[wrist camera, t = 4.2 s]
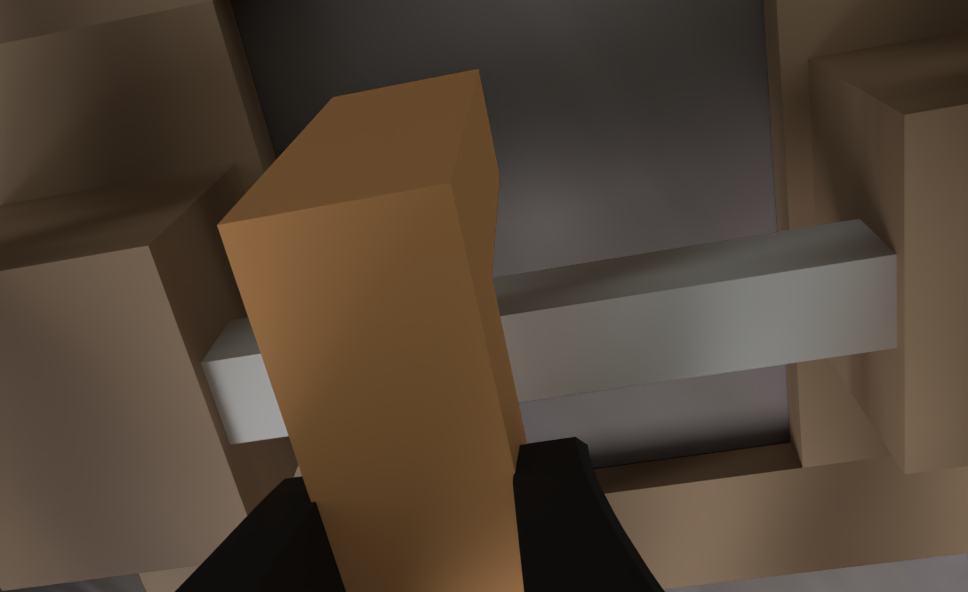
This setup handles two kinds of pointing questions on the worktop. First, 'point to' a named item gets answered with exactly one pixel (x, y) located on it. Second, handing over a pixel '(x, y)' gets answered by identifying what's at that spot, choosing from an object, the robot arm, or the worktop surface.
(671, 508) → the hook stand
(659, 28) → the worktop surface
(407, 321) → the tan wooden angled block
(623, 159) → the worktop surface
